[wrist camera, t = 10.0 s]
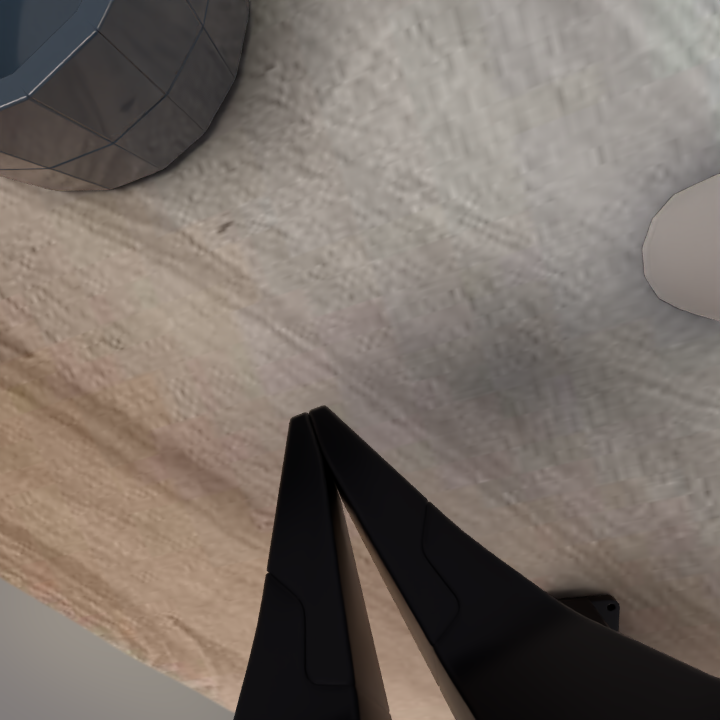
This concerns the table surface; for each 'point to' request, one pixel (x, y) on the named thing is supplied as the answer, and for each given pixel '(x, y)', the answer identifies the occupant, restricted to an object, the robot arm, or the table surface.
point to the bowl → (110, 85)
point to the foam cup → (687, 250)
